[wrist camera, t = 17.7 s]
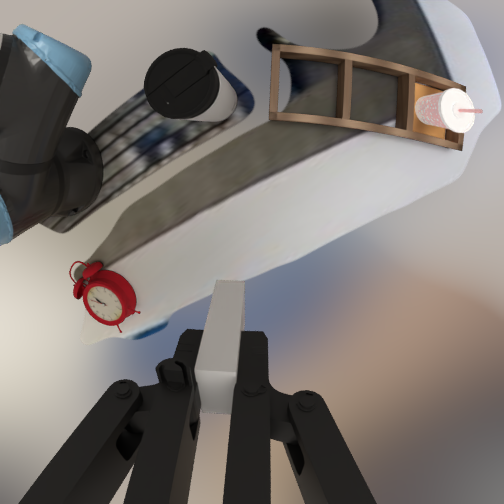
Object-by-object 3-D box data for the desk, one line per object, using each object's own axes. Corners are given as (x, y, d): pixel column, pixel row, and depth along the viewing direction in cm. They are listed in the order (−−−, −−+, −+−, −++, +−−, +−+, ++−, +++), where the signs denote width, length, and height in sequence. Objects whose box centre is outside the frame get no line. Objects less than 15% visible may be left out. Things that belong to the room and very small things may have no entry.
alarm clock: (118, 339, 52) (52, 299, 46) (124, 317, 58) (64, 278, 51) (145, 311, 49) (72, 264, 42) (150, 288, 54) (84, 244, 48)
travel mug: (248, 104, 39) (234, 85, 20) (209, 130, 40) (165, 134, 22) (223, 71, 37) (190, 29, 18) (185, 97, 38) (125, 79, 20)
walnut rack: (268, 119, 39) (269, 119, 36) (271, 51, 35) (272, 43, 32) (450, 148, 39) (463, 151, 35) (454, 88, 35) (467, 87, 31)
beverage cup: (424, 136, 38) (478, 145, 26) (403, 103, 37) (454, 100, 24) (448, 117, 37) (503, 122, 24) (428, 85, 35) (482, 78, 22)
